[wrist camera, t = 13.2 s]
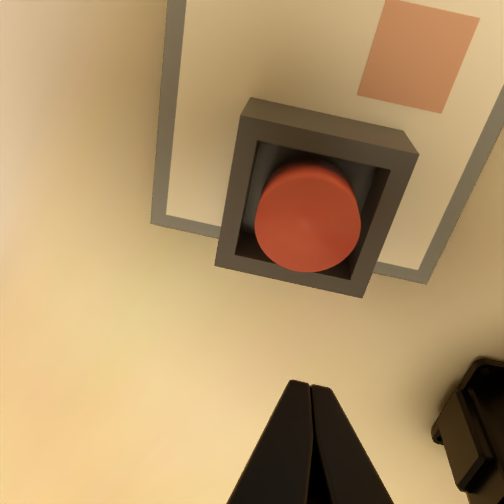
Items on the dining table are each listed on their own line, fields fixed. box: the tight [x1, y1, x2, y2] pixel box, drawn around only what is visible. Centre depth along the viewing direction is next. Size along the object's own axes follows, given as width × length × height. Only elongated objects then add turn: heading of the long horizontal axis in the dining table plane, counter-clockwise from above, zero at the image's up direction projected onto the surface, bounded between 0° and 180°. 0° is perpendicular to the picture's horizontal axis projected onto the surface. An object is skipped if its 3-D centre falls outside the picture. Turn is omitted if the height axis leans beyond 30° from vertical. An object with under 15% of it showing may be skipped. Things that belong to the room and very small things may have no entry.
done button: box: [255, 158, 361, 272], centre depth 16 cm, size 4×4×2 cm
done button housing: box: [214, 97, 420, 298], centre depth 17 cm, size 6×6×3 cm
